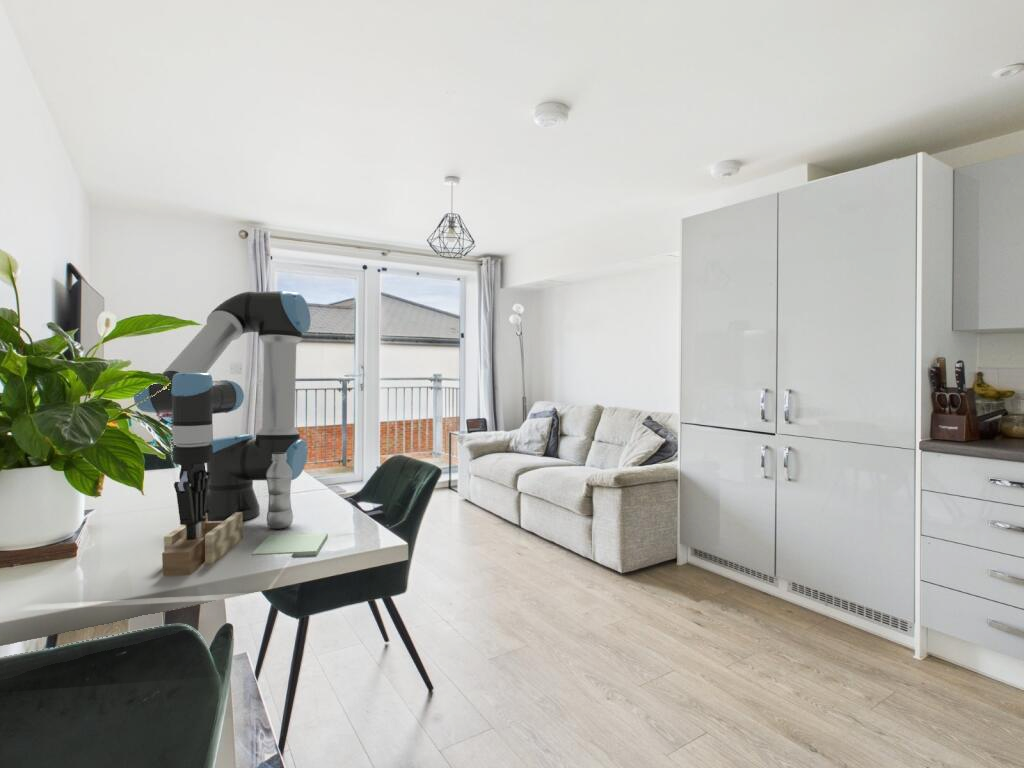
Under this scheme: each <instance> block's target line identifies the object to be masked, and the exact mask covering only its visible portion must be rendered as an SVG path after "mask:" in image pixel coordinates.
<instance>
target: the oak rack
mask: <svg viewBox="0 0 1024 768" xmlns="http://www.w3.org/2000/svg"><path fill="white" fill-rule="evenodd" d="M203 518H206V521H200V522H201V538H205V562H204V563H203V564H202V565H213V564H215V562H217V561H218V560H219V559H220V558H221V557H223V556H224V554H226V553H227V552H228V551H229V550H230V549H231V548H233V546H235V545H236V544H237V543H239V541H240V540H242V539H243V534H244V532H243V520H242V512H236V513H234V514H233V515H232V516H230V517H229V518H228V519H226V520H225V521H208V513H206V515H205V516H203ZM179 539H186V533H185V525H180V526H179V527H178V528H176V529H174V530H173V531H171V532H169V533H168V534H166V535H165V536H163V546H164V547H163V552H164V551H166V550H167V549H168V548H169V547H171V546H172V545H173V544H174V543H175V542H177V541H178V540H179Z"/></svg>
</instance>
